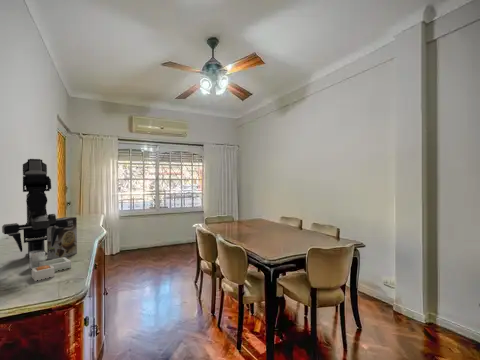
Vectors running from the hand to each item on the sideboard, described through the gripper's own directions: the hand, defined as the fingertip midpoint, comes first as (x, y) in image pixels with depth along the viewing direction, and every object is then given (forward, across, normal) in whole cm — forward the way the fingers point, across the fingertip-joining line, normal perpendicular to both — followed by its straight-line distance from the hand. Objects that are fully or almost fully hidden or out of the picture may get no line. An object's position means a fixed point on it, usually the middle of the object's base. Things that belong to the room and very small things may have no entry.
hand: (37, 248), depth 97 cm
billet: (+7, 0, 0) cm, 7 cm away
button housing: (+7, -1, -14) cm, 15 cm away
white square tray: (+7, +4, -7) cm, 10 cm away
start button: (+6, -1, -14) cm, 15 cm away
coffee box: (+7, +10, +10) cm, 16 cm away
